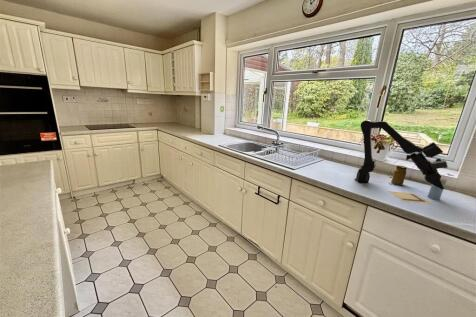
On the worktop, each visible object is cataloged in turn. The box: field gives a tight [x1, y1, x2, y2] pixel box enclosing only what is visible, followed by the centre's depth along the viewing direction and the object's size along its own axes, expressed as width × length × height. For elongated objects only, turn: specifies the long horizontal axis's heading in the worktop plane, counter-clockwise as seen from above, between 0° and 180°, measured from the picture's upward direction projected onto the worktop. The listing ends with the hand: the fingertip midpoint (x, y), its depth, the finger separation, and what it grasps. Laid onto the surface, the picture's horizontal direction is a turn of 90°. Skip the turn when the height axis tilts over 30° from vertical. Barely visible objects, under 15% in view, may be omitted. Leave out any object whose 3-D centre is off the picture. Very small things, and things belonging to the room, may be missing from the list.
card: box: [388, 190, 433, 205], centre depth 114 cm, size 15×13×1 cm
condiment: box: [389, 165, 408, 187], centre depth 131 cm, size 7×8×12 cm
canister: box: [426, 177, 448, 201], centre depth 113 cm, size 5×5×12 cm
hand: (441, 186), depth 111 cm, fingers open, 9 cm apart
